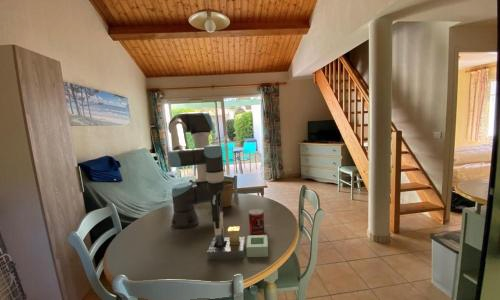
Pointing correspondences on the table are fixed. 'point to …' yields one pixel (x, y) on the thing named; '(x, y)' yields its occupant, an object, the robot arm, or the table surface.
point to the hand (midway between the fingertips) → (219, 231)
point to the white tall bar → (220, 238)
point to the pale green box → (257, 246)
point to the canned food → (256, 221)
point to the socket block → (226, 250)
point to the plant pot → (227, 193)
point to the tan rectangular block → (234, 236)
